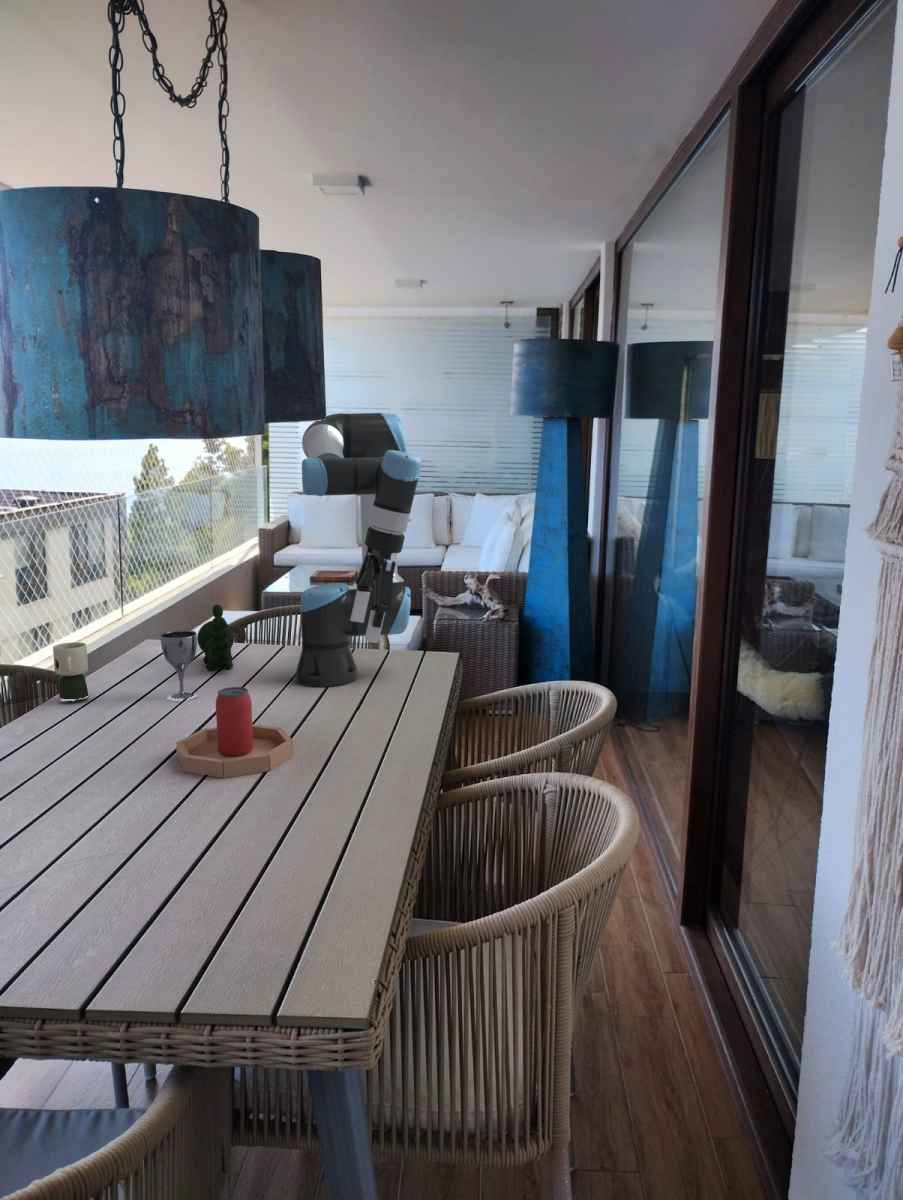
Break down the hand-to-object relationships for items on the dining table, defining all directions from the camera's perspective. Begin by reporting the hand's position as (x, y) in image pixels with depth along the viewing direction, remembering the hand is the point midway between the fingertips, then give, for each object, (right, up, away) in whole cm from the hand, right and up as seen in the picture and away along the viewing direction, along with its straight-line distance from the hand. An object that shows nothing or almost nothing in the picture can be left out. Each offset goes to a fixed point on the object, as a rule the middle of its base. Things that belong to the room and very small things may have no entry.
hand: (363, 631), depth 192 cm
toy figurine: (-43, -11, +56) cm, 71 cm away
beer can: (-23, -23, -11) cm, 34 cm away
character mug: (-69, -17, +26) cm, 75 cm away
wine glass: (-45, -16, +28) cm, 55 cm away
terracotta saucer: (-23, -23, -11) cm, 35 cm away
